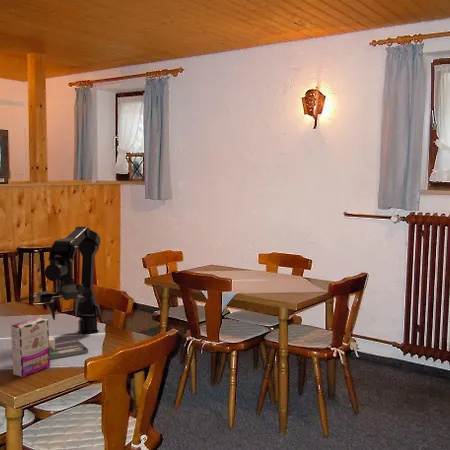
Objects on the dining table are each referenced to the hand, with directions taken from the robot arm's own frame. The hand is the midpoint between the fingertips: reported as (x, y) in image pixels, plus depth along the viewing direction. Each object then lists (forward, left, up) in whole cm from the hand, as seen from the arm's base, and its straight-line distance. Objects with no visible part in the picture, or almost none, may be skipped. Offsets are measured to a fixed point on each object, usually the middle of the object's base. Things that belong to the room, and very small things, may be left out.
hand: (65, 318), depth 195 cm
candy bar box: (+15, +14, -12) cm, 24 cm away
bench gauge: (+3, 0, -12) cm, 12 cm away
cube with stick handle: (+7, +2, -11) cm, 13 cm away
